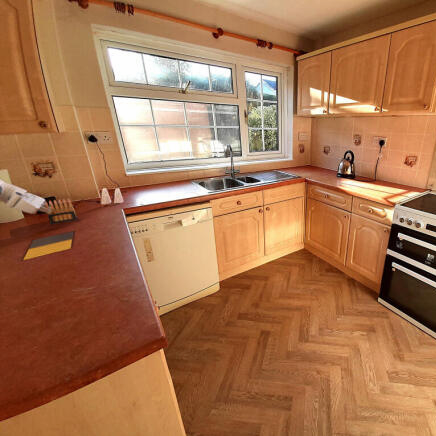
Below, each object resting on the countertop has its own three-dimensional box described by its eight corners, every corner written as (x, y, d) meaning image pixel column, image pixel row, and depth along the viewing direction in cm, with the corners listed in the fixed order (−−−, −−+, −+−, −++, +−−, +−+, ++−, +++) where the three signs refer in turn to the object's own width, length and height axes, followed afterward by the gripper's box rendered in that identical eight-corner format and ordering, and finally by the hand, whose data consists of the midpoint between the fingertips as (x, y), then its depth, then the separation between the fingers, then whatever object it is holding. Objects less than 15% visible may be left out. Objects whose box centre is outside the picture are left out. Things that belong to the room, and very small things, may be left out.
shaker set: (102, 206, 155) (96, 190, 151) (102, 205, 158) (96, 188, 154) (124, 202, 162) (119, 186, 157) (123, 201, 165) (118, 185, 160)
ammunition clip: (77, 218, 132) (70, 197, 127) (77, 219, 130) (70, 198, 126) (51, 223, 126) (42, 201, 121) (50, 224, 124) (41, 201, 120)
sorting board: (24, 262, 93) (22, 259, 93) (34, 242, 110) (33, 239, 109) (71, 250, 101) (70, 248, 101) (74, 233, 118) (73, 231, 117)
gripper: (16, 197, 122) (50, 211, 131) (5, 207, 107) (44, 222, 116) (25, 187, 123) (58, 201, 132) (15, 195, 108) (53, 211, 117)
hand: (51, 211), depth 124 cm, fingers closed on ammunition clip, 2 cm apart
